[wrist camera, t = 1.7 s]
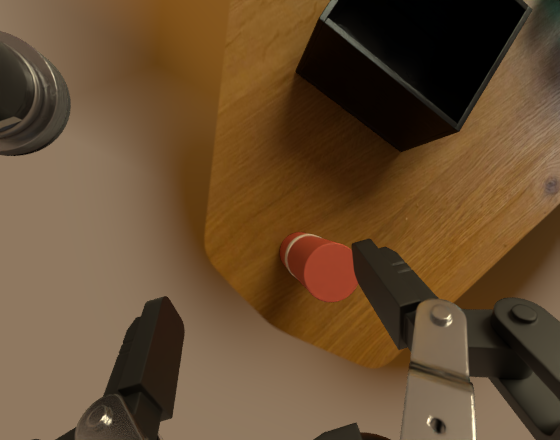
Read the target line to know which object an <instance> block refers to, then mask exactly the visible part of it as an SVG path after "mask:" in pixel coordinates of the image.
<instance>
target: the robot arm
mask: <svg viewBox="0 0 560 440" xmlns="http://www.w3.org/2000/svg"><path fill="white" fill-rule="evenodd" d="M42 101H43V88H42V84H41V80H40V78H39V75H38V73H37V72H36V70H35V68H34V67H33V66H32V64H31V63H30V62H29V61H28V60H27V59H26V58H25V57H24V56H22V55H21V54H20V53H18V52H17V51H16V50H14V49H13V48H12V47H10V46H9V45H7V44H5V43H3V42H2V41H0V138H3V137H8V136H12V135H14V134H17V133H19V132H21V131H22V130H24V129H25V128H27V127H28V126H29V125H30V124H31V123H32V122H33V121H34V120H35V118H36V117H37V115H38V113H39V111H40V109H41V106H42ZM352 256H353V266H354V273H355V276H356V279H357V282H358V283H359V285H360V287H361V289H362V290H363V292H364V293H365V295H366V297H367V298H368V300H369V302H370V303H371V305H372V307H373V308H374V310H375V312H376V313H377V315H378V317H379V318H380V320H381V321H382V323H383V325H384V326H385V328H386V330H387V331H388V333H389V335H390V336H391V338H392V340H393V341H394V343H395V345H396V346H397V348H398V349H399V350H400V349H404V348H407V347H408V348H409V349H410V351H411V359H410V364H409V370H408V378H407V386H406V394H405V402H404V411H403V419H402V427H401V435H400V440H477V435H476V416H475V399H474V388H473V384H472V383H471V382H470V379H469V376H472V377H488V378H489V379H490V380H491V382H492V383H493V384H494V386H495V387H496V388H497V389H498V391H499V392H500V394H501V395H502V396H503V398H504V399H505V400H506V401H507V403H508V404H509V405H510V407H511V408H512V409H513V411H514V412H515V413H516V414H517V416H518V417H519V418H520V420H521V421H522V422H523V424H524V425H525V426H526V428H527V429H528V430H529V431H530V433H531V434H532V435H533V437H534V438H535V439H536V440H560V322H559V321H558V320H557V319H556V318H554V317H553V316H552V315H551V314H550V313H548V312H547V311H546V310H545V309H544V308H542V307H541V306H539V305H537V304H535V303H533V302H530V301H528V300H525V299H520V298H504V299H501V300H499V301H497V302H496V304H495V306H494V309H493V310H465V309H460V308H459V307H458V306H456V305H455V304H453V303H451V302H449V301H447V300H443V299H439V298H438V297H437V296H436V295H435V294H434V293H433V292H432V291H431V290H430V289H429V288H428V287H427V285H426V284H425V283H424V282H423V281H422V280H421V279H420V278H419V277H418V275H417V274H416V273H415V272H414V271H413V270H411V268H410V267H409V266H408V264H407V263H405V262H404V260H403V259H402V258H401V257H400V256H399V255H398V253H397V252H395V251H393V250H391V249H389V248H387V247H382V248H378V247H377V246H376V245H375V244H374V242H373V241H372V240H371V239H366V240H362V241H359V242H355V243H352ZM183 340H184V324H183V321H182V319H181V317H180V316H179V314H178V313H177V311H176V309H175V308H174V306H173V304H172V303H171V301H170V300H169V298H168V297H166V296H164V297H161V298H157V299H154V300H150V301H147V302H146V304H145V306H144V309H143V312H142V315H141V317H137V318H136V319H135V320H134V321H133V323H132V324H131V326H130V327H129V328H128V330H127V332H126V335H125V338H124V340H123V345H122V346H121V349H120V351H119V355H118V357H117V360H116V362H115V365H114V368H113V371H112V373H111V376H110V379H109V382H108V385H107V388H106V390H105V393H104V395H103V397H102V398H100V399H99V400H97V401H96V402H94V403H93V404H92V405H91V406H90V407H89V408H88V409H87V410H86V412H85V413H84V414H83V416H82V417H81V419H80V420H79V422H78V424H77V427H75V428H74V429H72V430H70V431H69V432H67V433H66V434H65V435H62V436H61V437H59V438H58V439H56V440H163V439H162V437H161V436H160V434H159V433H158V430H159V425H160V422H161V421H164V420H167V419H171V418H172V415H173V409H174V401H175V395H176V388H177V381H178V374H179V367H180V361H181V354H182V347H183ZM34 440H39V439H34ZM314 440H390V439H388V438H386V437H383V436H380V435H377V434H371V433H361V432H360V431H359V428H358V426H357V423H353V424H350V425H347V426H344V427H340V428H337V429H334V430H331V431H328V432H324V433H323V434H321V435H320V436H318V437H317V438H315V439H314Z"/></svg>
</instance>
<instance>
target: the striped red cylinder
mask: <svg viewBox="0 0 560 440" xmlns="http://www.w3.org/2000/svg"><path fill="white" fill-rule="evenodd" d="M280 258H281V260H282V262H283V264H284V265H285V266H286V267H287V269H288V270H289V272H290V273H291V274H292V275H293V276H294V277H295V278H296V279H298V280H299V281H300V282H301V284H302V285H303V286H304V287H305V288H306V289H307V290H308V291H309V292H310V293H311V294H312V295H313V296H314V297H315V298H317V299H319V300H321V301H324V302H337V301H340V300H343V299H345V298H346V297H348V296H349V295H350V294H351V293H352V292H353V291H354V290H355V288H356V287H357V285H358V282H357V279H356V276H355V273H354V266H353V256H352V250H351V249H349V248H348V247H346V246H345V245H342V244H339V243H336V242H333V241H330V240H326V239H323V238H321V237H319V236H317V235H313V234H307V233H303V232H296V233H292V234H290V235H289V236H287V237H286V238H285V239H284V241H283V242H282V244H281V247H280Z"/></svg>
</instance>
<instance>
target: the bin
mask: <svg viewBox="0 0 560 440" xmlns="http://www.w3.org/2000/svg"><path fill="white" fill-rule="evenodd" d="M531 12H532V9H531V8H530V7H529V6H528V5H527V4H526V3H525V2H524V1H523V0H330V2H329V3H328V5H327V6H326V8H325V10H324V11H323V13H322V14H321V16H320V17H319V19H318V21H317V23H316V26H315V28H314V30H313V33H312V35H311V37H310V39H309V42H308V44H307V46H306V48H305V51H304V53H303V55H302V58H301V60H300V62H299V64H298V67H297V69H296V71H295V72H296V73H298V74H299V75H300V76H302V77H303V78H304V79H306V80H307V81H308V82H310V83H311V84H312V85H313V86H315V87H316V88H317V89H319V90H320V91H321V92H323V93H324V94H325V95H327V96H328V97H329V98H331V99H332V100H333V101H334V102H336V103H337V104H338V105H340V106H341V107H342V108H344V109H345V110H346V111H348V112H349V113H350V114H352V115H353V116H354V117H355V118H357V119H358V120H359V121H361V122H362V123H363V124H365V125H366V126H367V127H369V128H370V129H371V130H373V131H374V132H375V133H377V134H378V135H379V136H380V137H382V138H383V139H384V140H386V141H387V142H388V143H390V144H391V145H392V146H394V147H395V148H396V149H398V150H399V151H400V152H403V151H406V150H409V149H411V148H414V147H417V146H420V145H423V144H426V143H429V142H431V141H434V140H437V139H440V138H443V137H446V136H449V135H451V134H454V133H457V132H459V131H460V129H461V128H462V126H463V124H464V123H465V121H466V119H467V118H468V116H469V114H470V113H471V111H472V110H473V108H474V106H475V105H476V103H477V101H478V100H479V98H480V96H481V95H482V93H483V91H484V90H485V88H486V86H487V85H488V83H489V81H490V80H491V78H492V76H493V75H494V73H495V71H496V70H497V68H498V66H499V65H500V63H501V61H502V60H503V58H504V57H505V55H506V53H507V52H508V50H509V48H510V47H511V45H512V43H513V42H514V40H515V38H516V37H517V35H518V33H519V32H520V30H521V28H522V27H523V25H524V23H525V22H526V20H527V18H528V17H529V15H530V13H531Z"/></svg>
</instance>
